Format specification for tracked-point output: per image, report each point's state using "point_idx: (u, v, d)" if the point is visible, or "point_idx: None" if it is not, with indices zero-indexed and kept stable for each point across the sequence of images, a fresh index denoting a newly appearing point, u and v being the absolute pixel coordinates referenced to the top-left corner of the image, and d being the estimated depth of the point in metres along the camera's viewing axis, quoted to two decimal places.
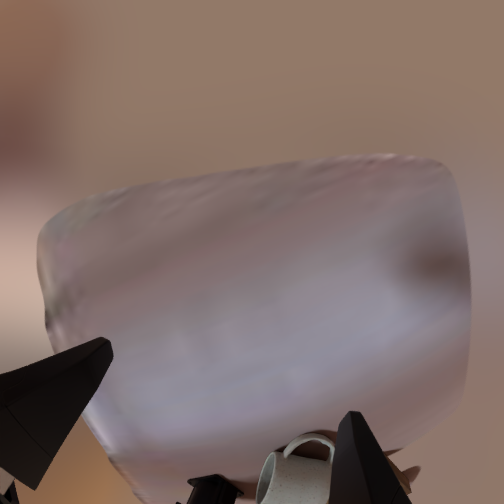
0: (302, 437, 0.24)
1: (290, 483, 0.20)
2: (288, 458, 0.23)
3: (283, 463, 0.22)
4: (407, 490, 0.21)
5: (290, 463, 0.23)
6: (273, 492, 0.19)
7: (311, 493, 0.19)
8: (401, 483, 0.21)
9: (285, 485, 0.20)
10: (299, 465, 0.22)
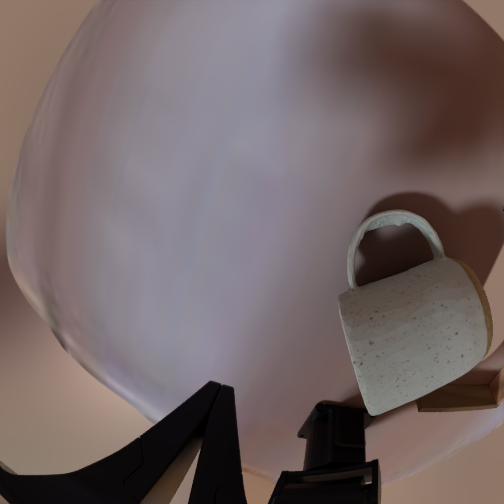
0: None
1: (388, 328, 0.11)
2: (362, 288, 0.14)
3: (354, 299, 0.13)
4: None
5: (368, 292, 0.13)
6: (366, 367, 0.11)
7: (443, 326, 0.10)
8: None
9: (379, 337, 0.11)
10: (386, 286, 0.13)
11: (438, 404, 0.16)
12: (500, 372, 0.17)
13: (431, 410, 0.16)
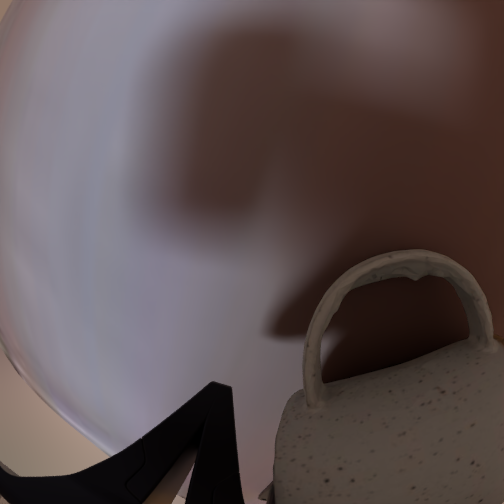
0: None
1: (355, 503, 0.04)
2: (329, 398, 0.07)
3: (306, 427, 0.06)
4: None
5: (336, 416, 0.06)
6: None
7: (462, 495, 0.03)
8: None
9: None
10: (375, 409, 0.06)
11: None
12: None
13: None
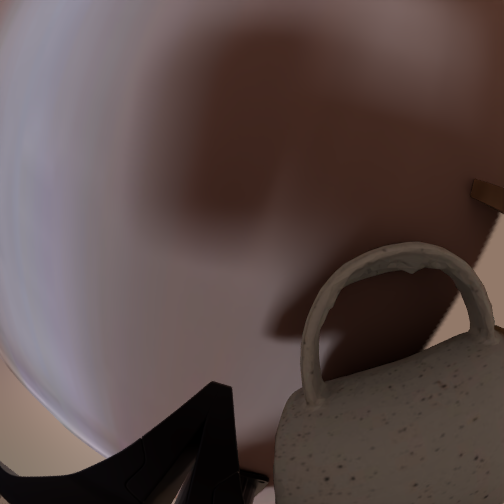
0: None
1: (356, 501, 0.04)
2: (329, 395, 0.07)
3: (306, 425, 0.06)
4: None
5: (336, 413, 0.06)
6: None
7: (467, 492, 0.02)
8: None
9: None
10: (375, 405, 0.06)
11: None
12: None
13: None
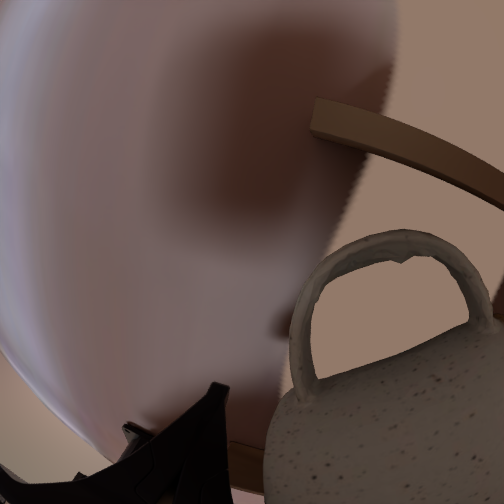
0: None
1: (344, 502, 0.04)
2: (321, 392, 0.07)
3: (295, 422, 0.06)
4: None
5: (326, 410, 0.06)
6: None
7: (465, 494, 0.02)
8: None
9: None
10: (365, 401, 0.06)
11: (253, 484, 0.11)
12: None
13: (237, 488, 0.11)
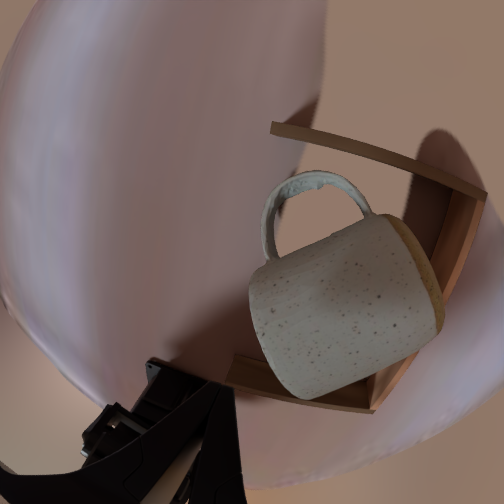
0: None
1: (291, 294, 0.11)
2: (280, 258, 0.14)
3: (265, 268, 0.13)
4: (465, 186, 0.10)
5: (281, 260, 0.13)
6: (269, 338, 0.11)
7: (359, 287, 0.10)
8: (409, 160, 0.11)
9: (281, 304, 0.11)
10: (300, 252, 0.13)
11: (254, 384, 0.18)
12: None
13: (242, 389, 0.18)
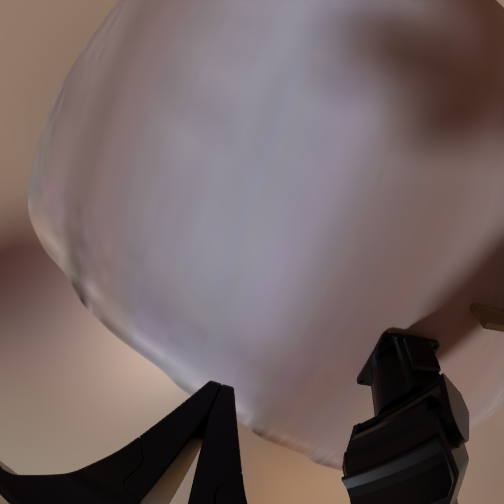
0: None
1: None
2: None
3: None
4: None
5: None
6: None
7: None
8: None
9: None
10: None
11: (498, 322, 0.15)
12: None
13: (493, 327, 0.15)
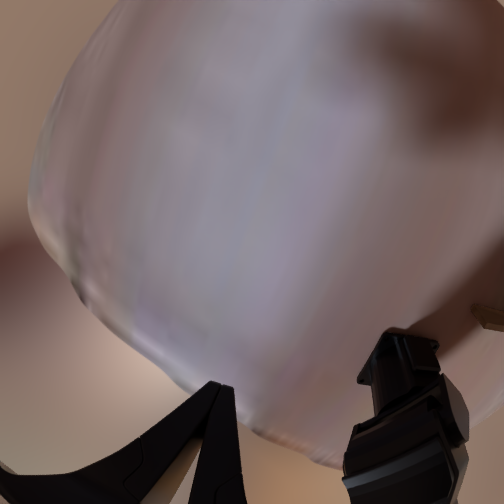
0: None
1: None
2: None
3: None
4: None
5: None
6: None
7: None
8: None
9: None
10: None
11: (498, 322, 0.15)
12: None
13: (493, 328, 0.15)
